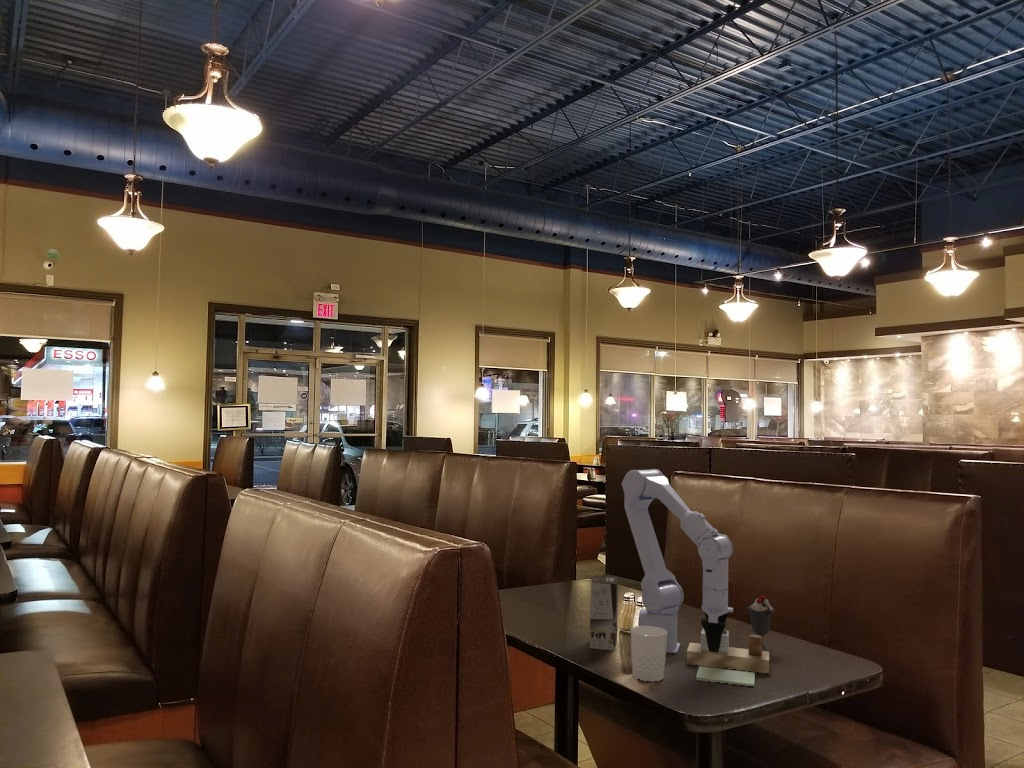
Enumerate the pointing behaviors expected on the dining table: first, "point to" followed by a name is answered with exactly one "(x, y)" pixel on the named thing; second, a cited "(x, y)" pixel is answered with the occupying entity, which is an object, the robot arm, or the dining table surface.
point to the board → (725, 676)
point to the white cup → (648, 652)
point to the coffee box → (604, 613)
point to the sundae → (761, 617)
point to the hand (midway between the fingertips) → (714, 646)
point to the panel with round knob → (732, 657)
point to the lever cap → (723, 644)
